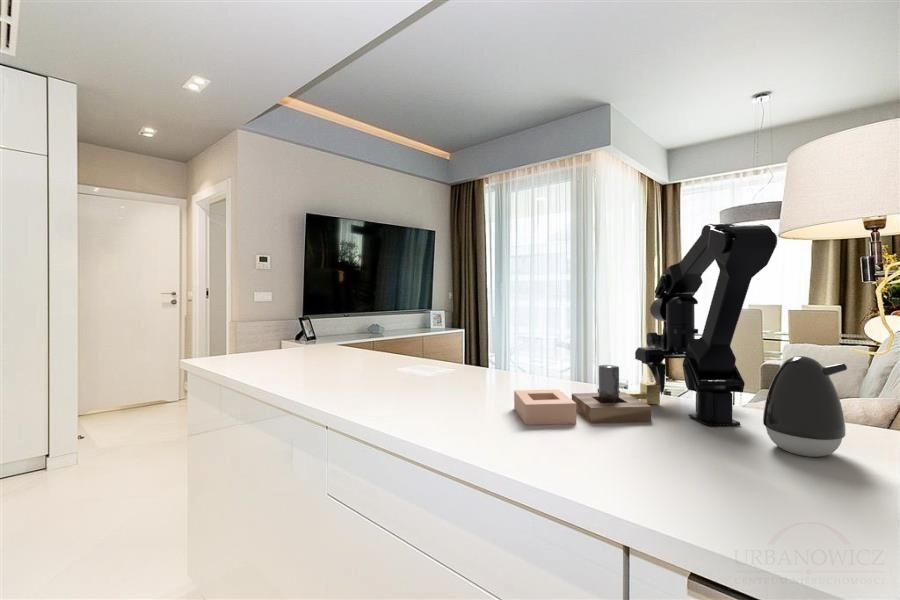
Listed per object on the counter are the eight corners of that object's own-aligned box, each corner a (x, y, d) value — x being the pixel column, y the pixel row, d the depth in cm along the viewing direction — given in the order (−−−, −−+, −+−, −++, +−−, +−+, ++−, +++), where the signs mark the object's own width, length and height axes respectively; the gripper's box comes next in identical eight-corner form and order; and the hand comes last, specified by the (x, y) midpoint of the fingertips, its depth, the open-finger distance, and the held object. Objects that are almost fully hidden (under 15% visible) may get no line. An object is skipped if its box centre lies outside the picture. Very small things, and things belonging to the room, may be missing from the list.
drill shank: (622, 416, 89) (622, 368, 89) (603, 416, 89) (603, 368, 89) (614, 410, 93) (614, 364, 93) (596, 411, 93) (595, 365, 93)
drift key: (659, 403, 97) (659, 384, 97) (611, 405, 97) (611, 386, 97) (653, 400, 100) (653, 382, 100) (606, 401, 100) (606, 383, 100)
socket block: (651, 421, 85) (651, 404, 85) (591, 423, 85) (591, 406, 85) (619, 402, 100) (618, 388, 100) (567, 403, 100) (567, 389, 100)
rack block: (576, 423, 85) (576, 403, 85) (525, 424, 84) (525, 404, 84) (558, 407, 97) (558, 389, 97) (514, 408, 96) (514, 390, 96)
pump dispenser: (855, 469, 62) (856, 363, 62) (765, 455, 67) (766, 358, 67) (838, 446, 71) (839, 354, 70) (760, 436, 76) (760, 350, 76)
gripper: (699, 320, 107) (699, 383, 107) (624, 322, 106) (625, 385, 107) (729, 324, 96) (729, 394, 96) (646, 325, 95) (647, 396, 96)
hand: (680, 391), depth 99 cm, fingers open, 9 cm apart
